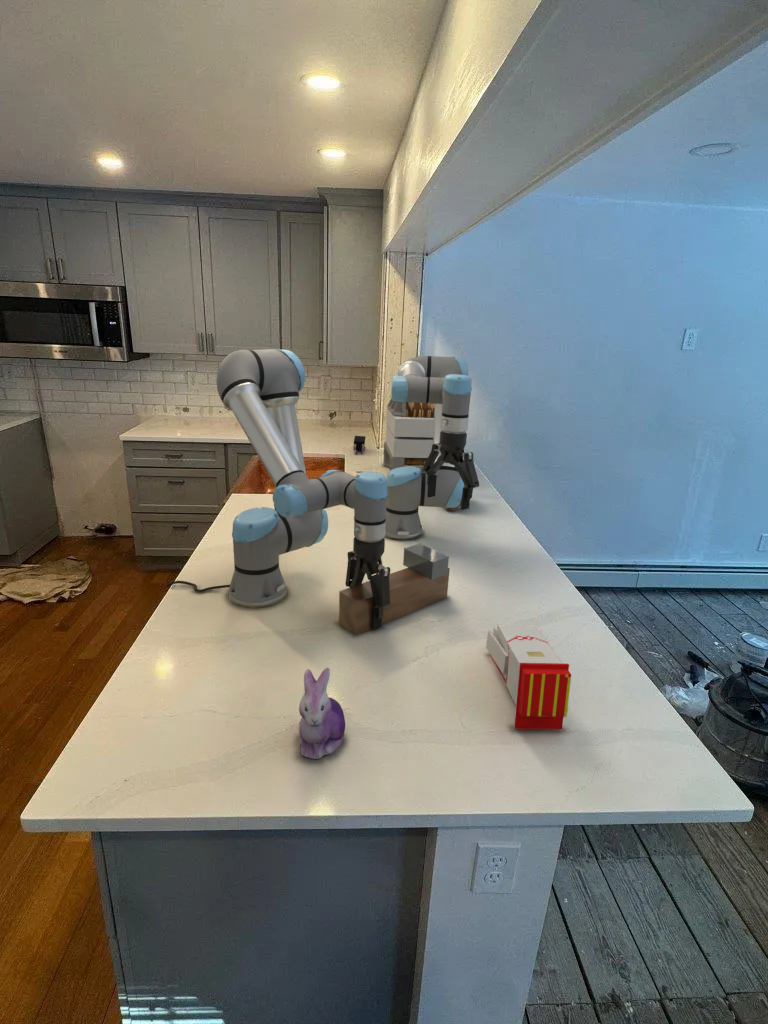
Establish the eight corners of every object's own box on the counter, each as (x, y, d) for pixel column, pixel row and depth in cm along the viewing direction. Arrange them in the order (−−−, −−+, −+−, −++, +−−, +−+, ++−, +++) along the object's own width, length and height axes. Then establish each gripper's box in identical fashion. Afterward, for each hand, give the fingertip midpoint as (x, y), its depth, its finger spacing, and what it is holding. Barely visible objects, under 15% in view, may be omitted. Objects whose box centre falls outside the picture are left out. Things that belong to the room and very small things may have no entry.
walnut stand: (338, 623, 142) (339, 591, 139) (429, 588, 162) (431, 559, 159) (355, 635, 137) (356, 602, 134) (447, 597, 157) (449, 568, 154)
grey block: (403, 565, 155) (404, 548, 153) (418, 559, 158) (419, 543, 157) (431, 579, 147) (433, 562, 145) (447, 573, 151) (449, 556, 149)
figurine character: (365, 457, 304) (365, 447, 318) (365, 443, 301) (365, 434, 315) (352, 456, 304) (353, 447, 318) (352, 443, 301) (353, 434, 314)
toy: (533, 609, 133) (580, 670, 104) (528, 661, 136) (573, 736, 107) (482, 608, 133) (514, 669, 103) (478, 661, 135) (509, 735, 106)
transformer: (382, 463, 289) (386, 382, 275) (445, 464, 293) (451, 384, 279) (390, 482, 257) (394, 392, 243) (460, 483, 261) (468, 394, 247)
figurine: (306, 770, 97) (306, 697, 91) (287, 731, 105) (286, 662, 100) (357, 752, 101) (359, 682, 96) (334, 717, 109) (335, 650, 104)
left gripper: (331, 527, 140) (330, 609, 148) (385, 555, 126) (380, 643, 134) (355, 521, 145) (353, 600, 153) (409, 547, 131) (404, 633, 138)
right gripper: (413, 424, 166) (409, 493, 173) (479, 441, 148) (471, 517, 155) (431, 422, 171) (426, 489, 178) (497, 438, 153) (489, 512, 160)
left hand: (366, 620), depth 143 cm, fingers open, 7 cm apart
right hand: (447, 502), depth 167 cm, fingers open, 13 cm apart
